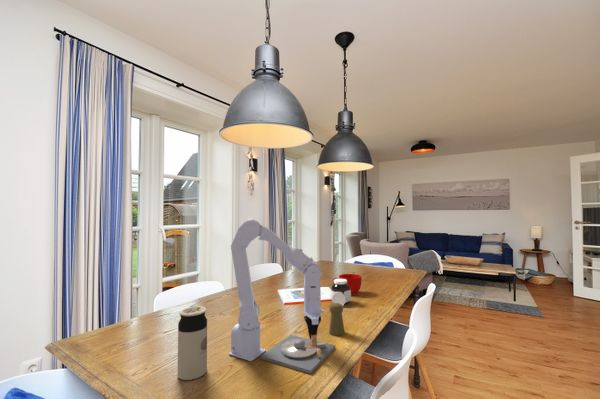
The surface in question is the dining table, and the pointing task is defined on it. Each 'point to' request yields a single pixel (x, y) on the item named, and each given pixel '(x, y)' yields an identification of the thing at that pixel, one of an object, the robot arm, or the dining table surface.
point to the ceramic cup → (351, 281)
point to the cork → (336, 320)
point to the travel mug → (192, 343)
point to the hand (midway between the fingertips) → (312, 338)
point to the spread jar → (340, 292)
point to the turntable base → (298, 364)
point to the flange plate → (304, 352)
